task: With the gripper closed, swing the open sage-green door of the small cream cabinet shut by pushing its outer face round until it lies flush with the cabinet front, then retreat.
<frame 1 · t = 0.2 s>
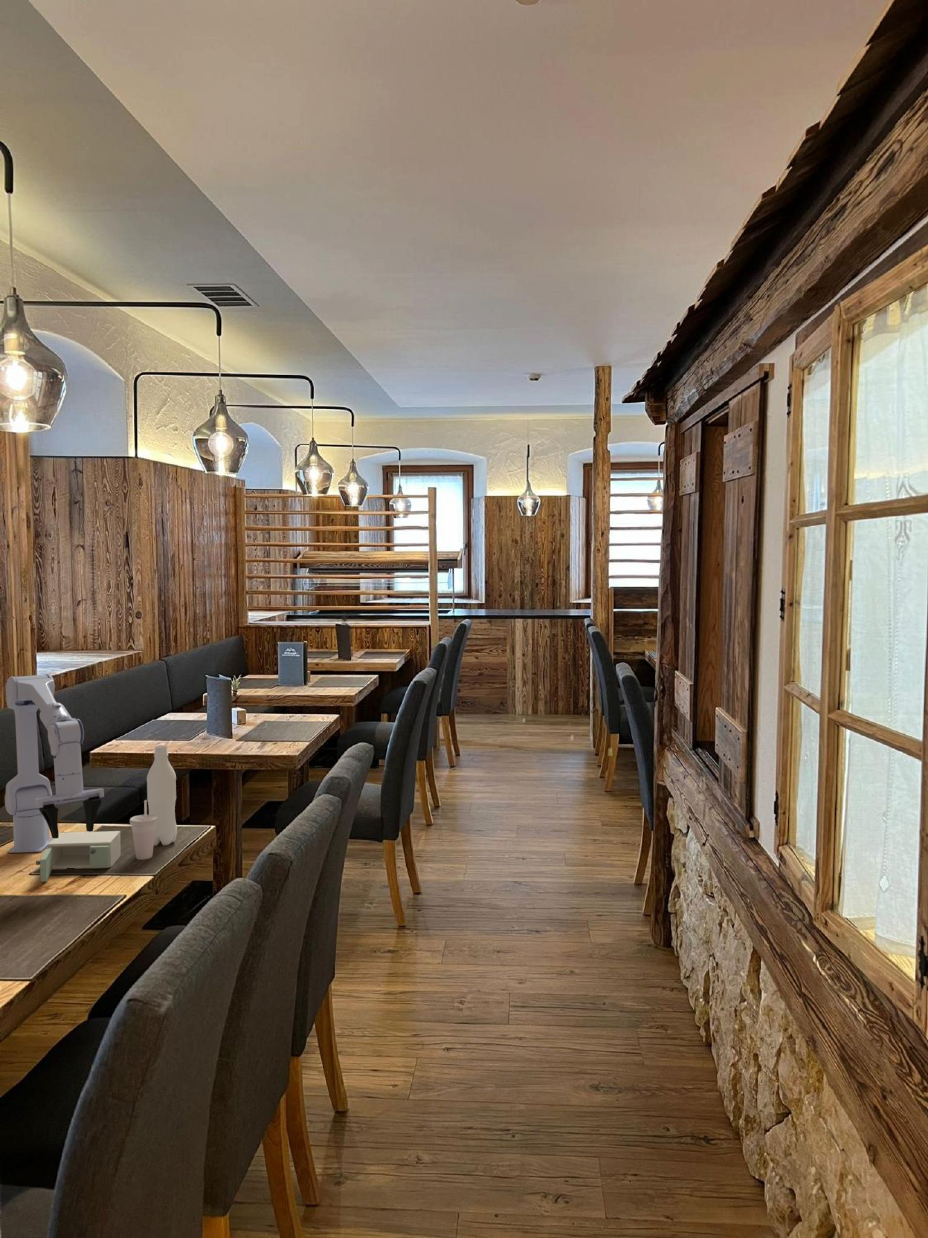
hand: (72, 834, 203), 10 cm above the table, tool pointing down, fingers open, 7 cm apart
smoothie: (144, 857, 220), on the table
water bottle: (162, 843, 231), on the table
door: (44, 864, 206), point 3 cm above the table, hinge at 80.0°
cabinet: (85, 862, 216), on the table
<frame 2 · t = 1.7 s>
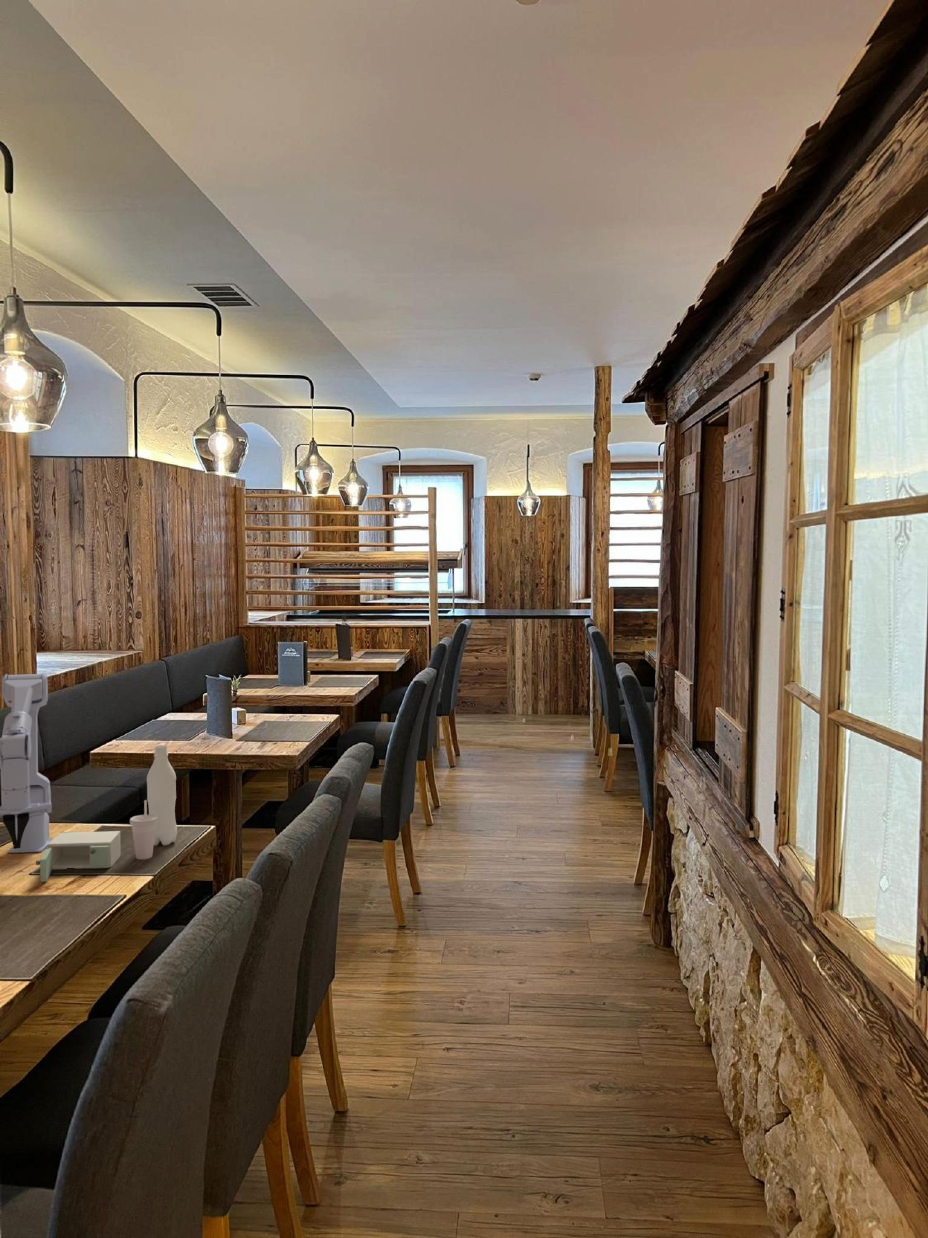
hand: (16, 847, 203), 7 cm above the table, tool pointing down, fingers closed
nothing on the table moved.
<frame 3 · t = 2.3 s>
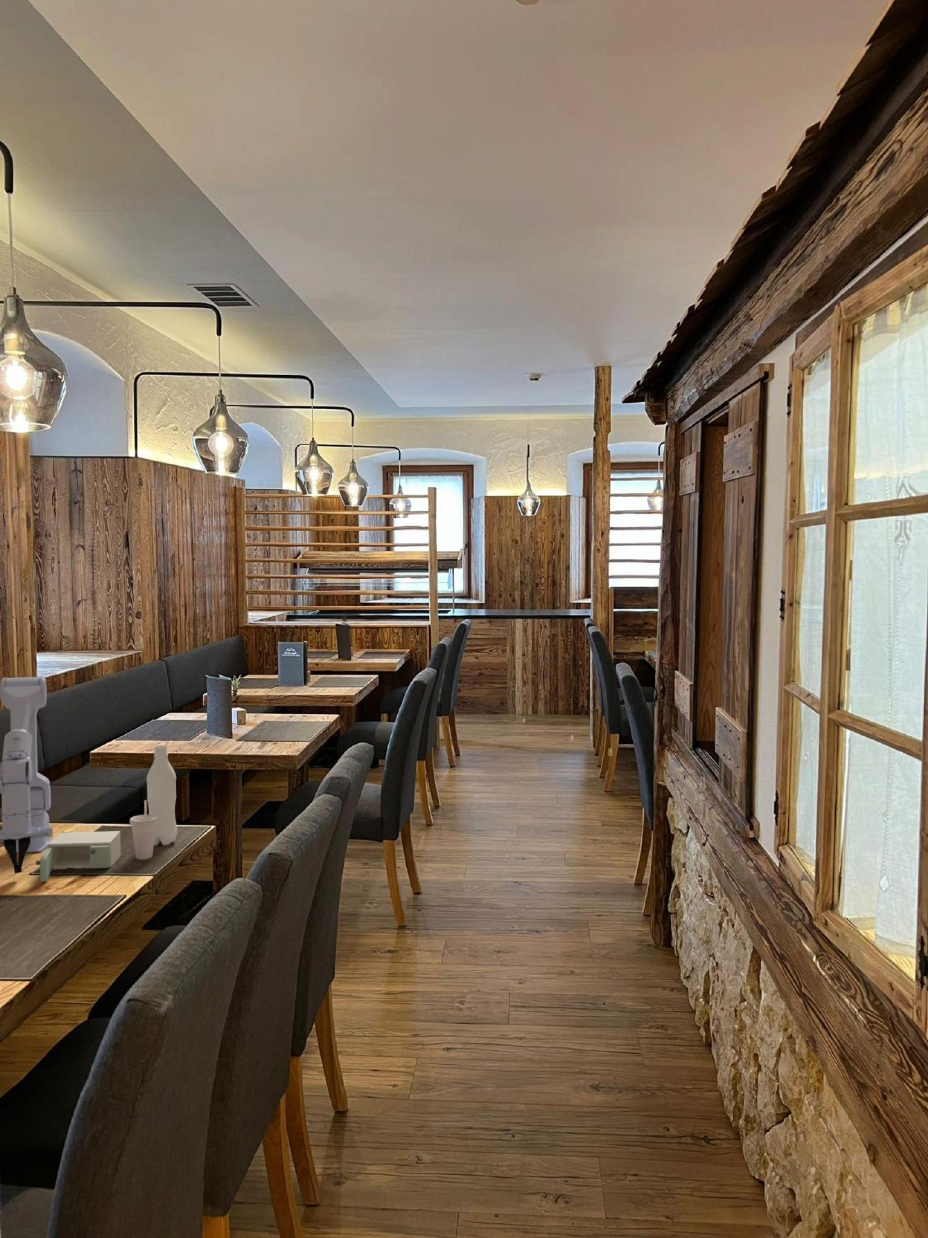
hand: (17, 871, 204), 2 cm above the table, tool pointing down, fingers closed
nothing on the table moved.
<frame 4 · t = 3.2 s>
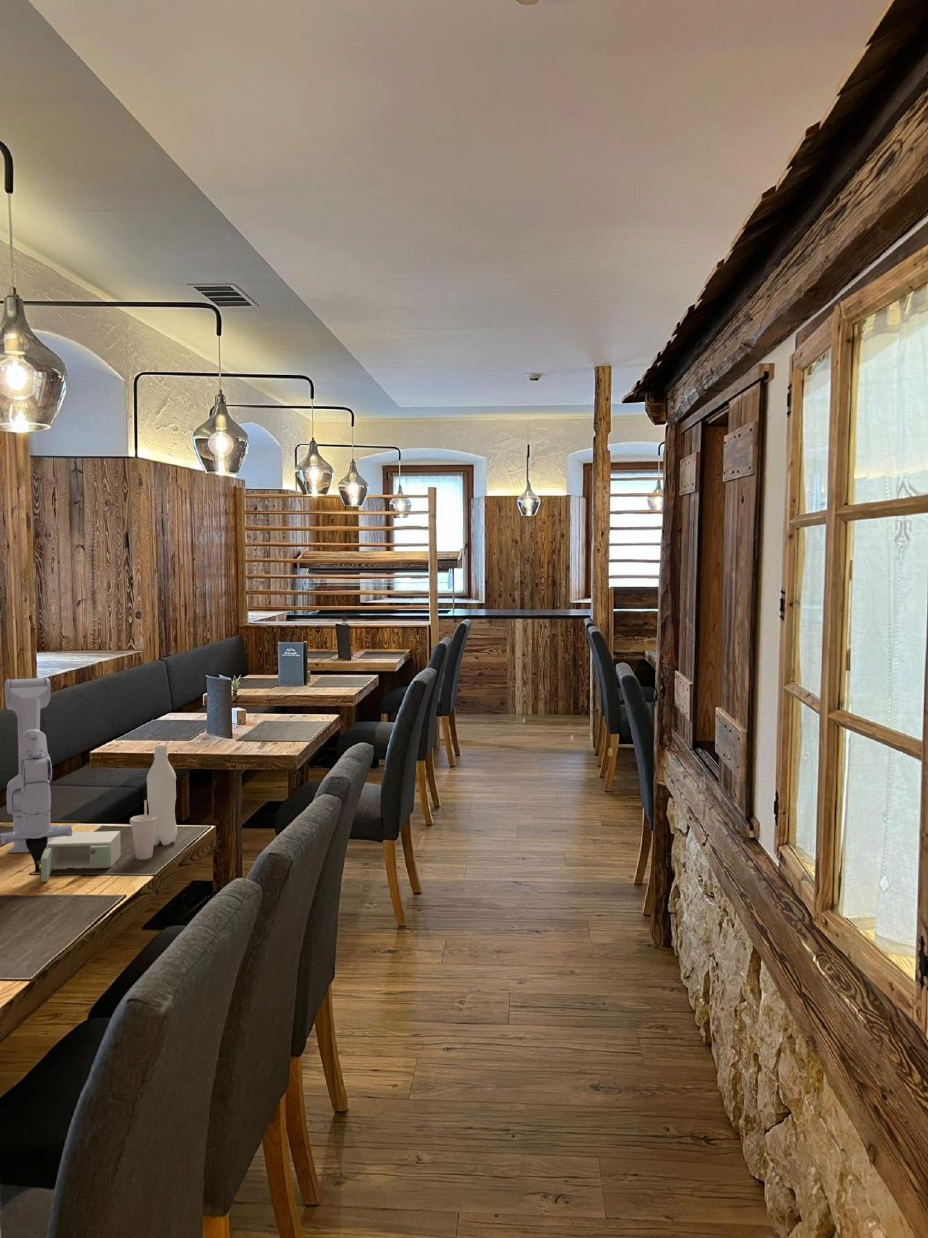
hand: (37, 870, 204), 2 cm above the table, tool pointing down, fingers closed
door: (44, 864, 206), point 3 cm above the table, hinge at 78.8°, touching gripper
everything else where it was.
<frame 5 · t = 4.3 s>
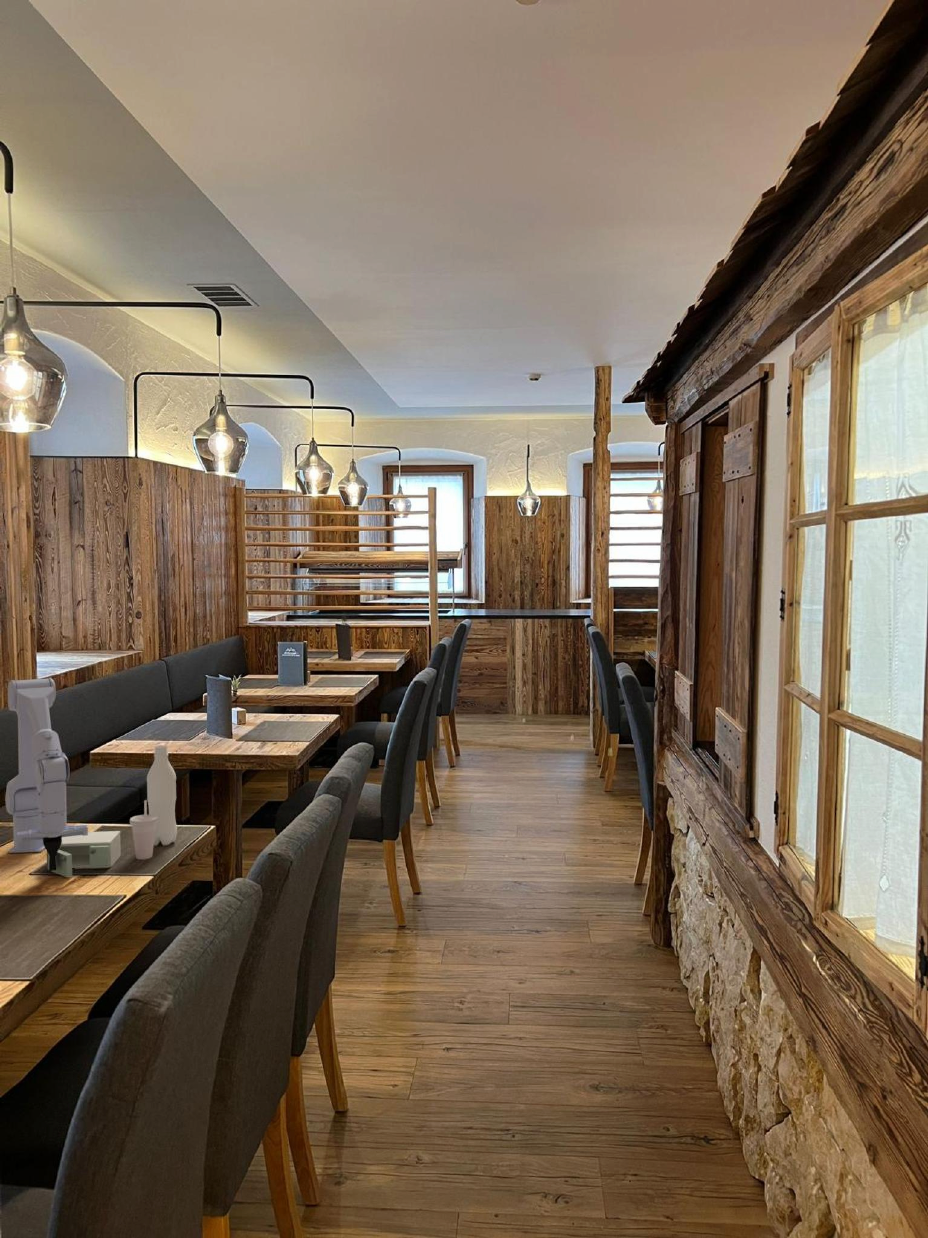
hand: (53, 869, 205), 2 cm above the table, tool pointing down, fingers closed, pressing on door
door: (56, 862, 207), point 3 cm above the table, hinge at 43.4°, touching gripper
everything else where it was.
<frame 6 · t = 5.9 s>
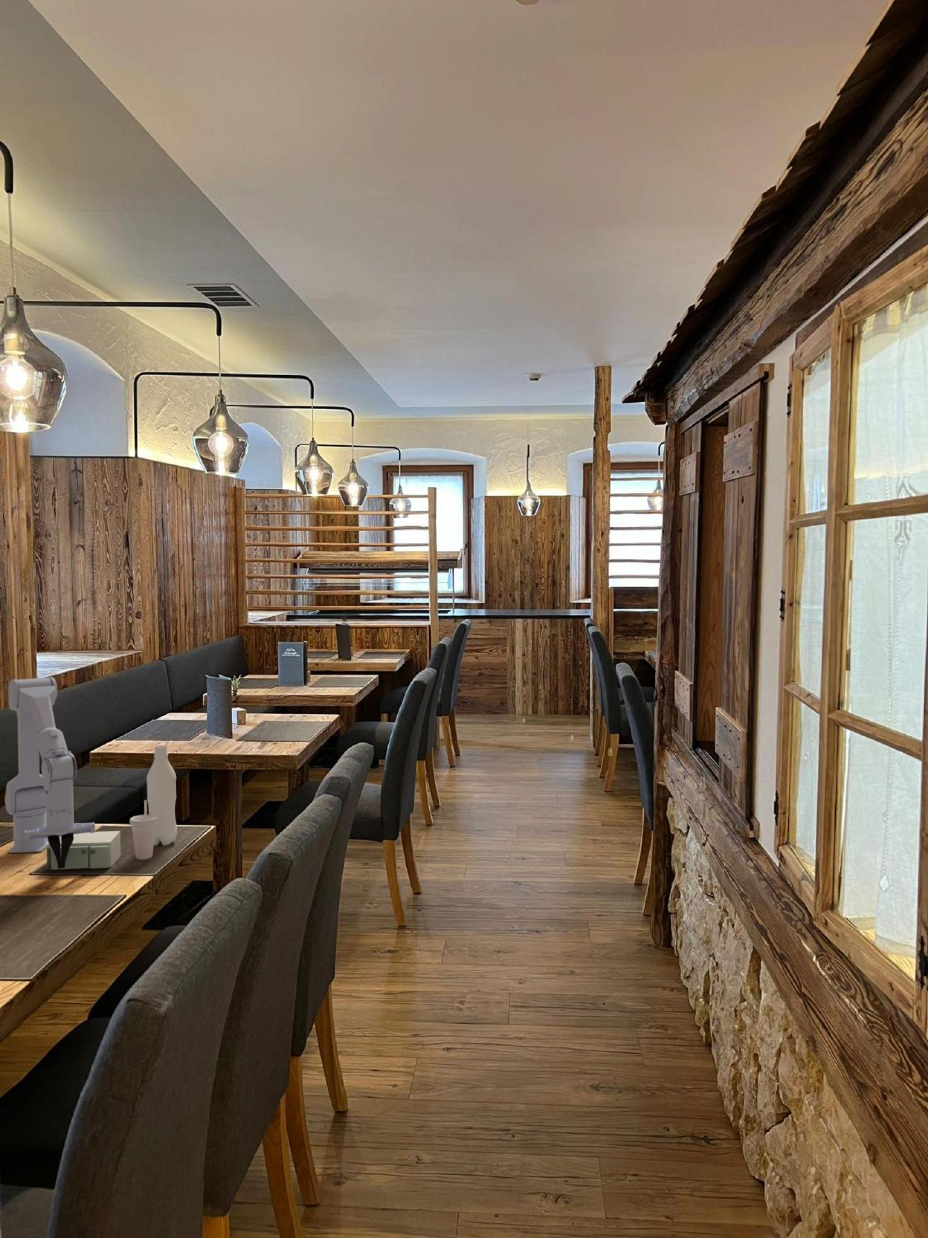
hand: (61, 867, 207), 2 cm above the table, tool pointing down, fingers closed
door: (67, 858, 210), point 3 cm above the table, hinge at -1.9°
everything else where it was.
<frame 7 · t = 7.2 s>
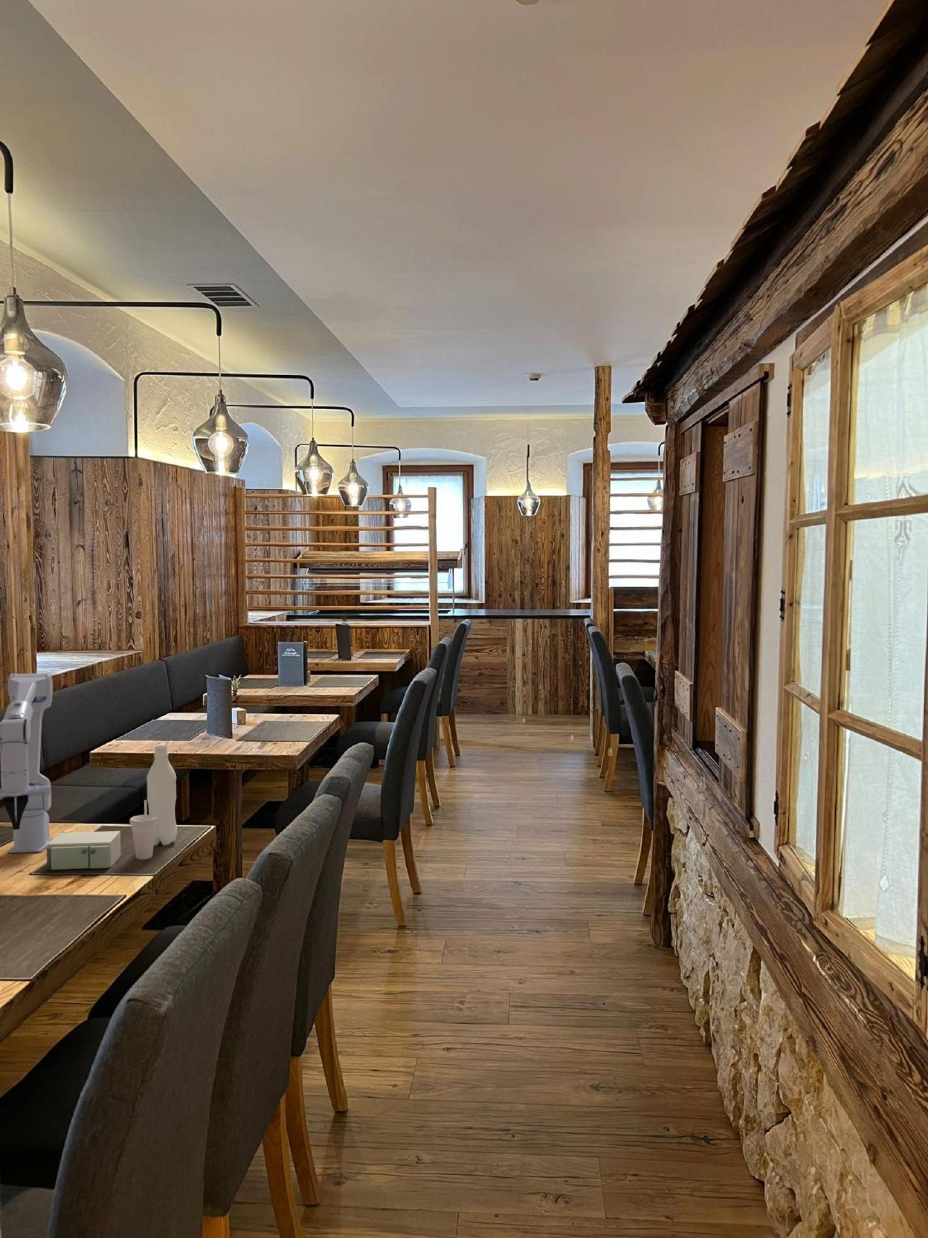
hand: (16, 828, 209), 10 cm above the table, tool pointing down, fingers closed
nothing on the table moved.
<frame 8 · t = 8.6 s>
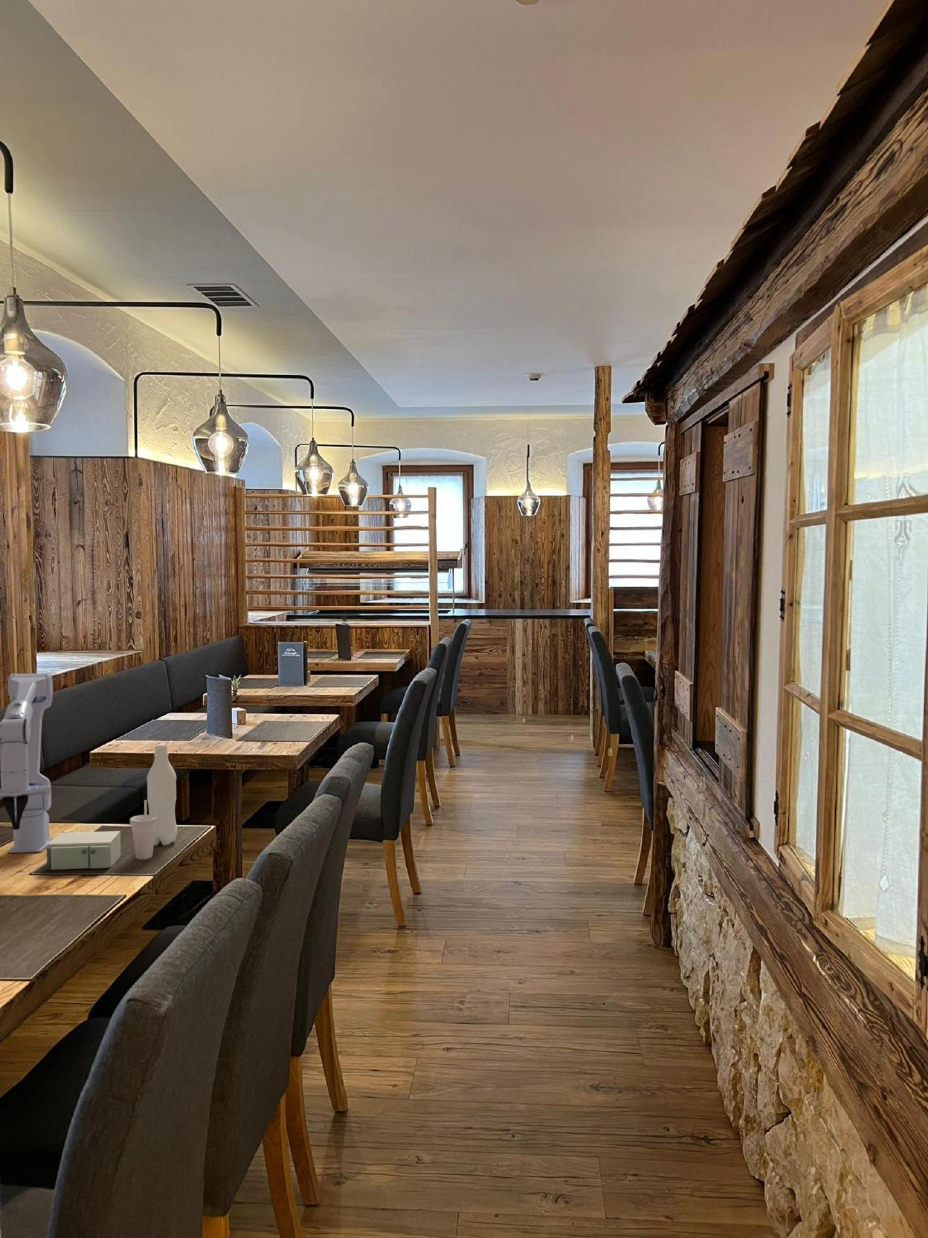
hand: (16, 828, 209), 10 cm above the table, tool pointing down, fingers closed
nothing on the table moved.
at the end: door at -2° (first picture: +80°); door touching nothing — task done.
